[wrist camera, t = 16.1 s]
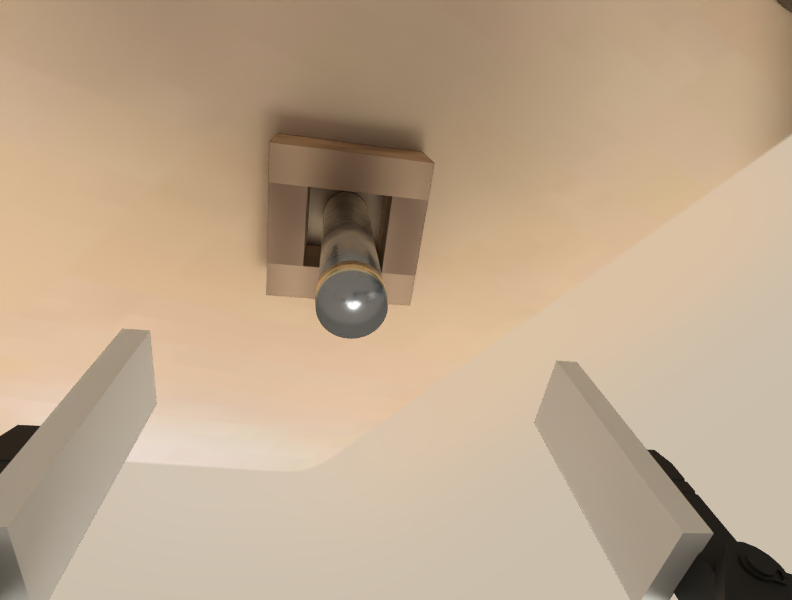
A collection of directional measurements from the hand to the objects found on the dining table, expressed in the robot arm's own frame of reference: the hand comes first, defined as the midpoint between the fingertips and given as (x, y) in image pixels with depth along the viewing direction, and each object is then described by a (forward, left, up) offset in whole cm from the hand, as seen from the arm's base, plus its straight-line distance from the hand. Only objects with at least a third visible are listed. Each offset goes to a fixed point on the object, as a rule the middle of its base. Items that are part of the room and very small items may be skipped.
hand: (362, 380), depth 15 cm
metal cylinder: (0, 0, -19) cm, 19 cm away
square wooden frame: (0, 0, -19) cm, 19 cm away
